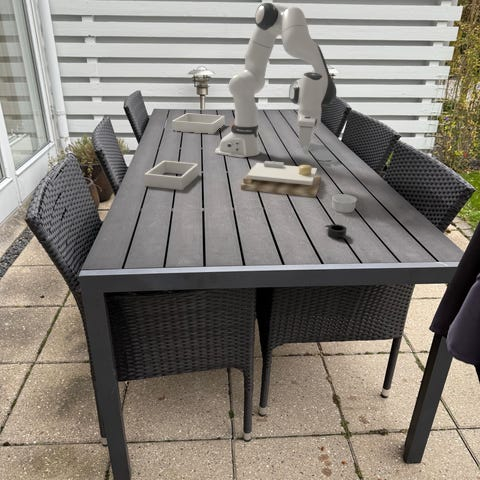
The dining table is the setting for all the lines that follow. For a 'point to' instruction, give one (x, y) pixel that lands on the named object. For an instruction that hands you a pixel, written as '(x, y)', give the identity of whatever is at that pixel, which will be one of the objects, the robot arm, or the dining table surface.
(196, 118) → the white square tray
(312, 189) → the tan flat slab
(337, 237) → the duct tape
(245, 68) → the robot arm
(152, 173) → the frame
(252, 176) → the plate
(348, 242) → the dining table surface
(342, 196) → the ramekin
